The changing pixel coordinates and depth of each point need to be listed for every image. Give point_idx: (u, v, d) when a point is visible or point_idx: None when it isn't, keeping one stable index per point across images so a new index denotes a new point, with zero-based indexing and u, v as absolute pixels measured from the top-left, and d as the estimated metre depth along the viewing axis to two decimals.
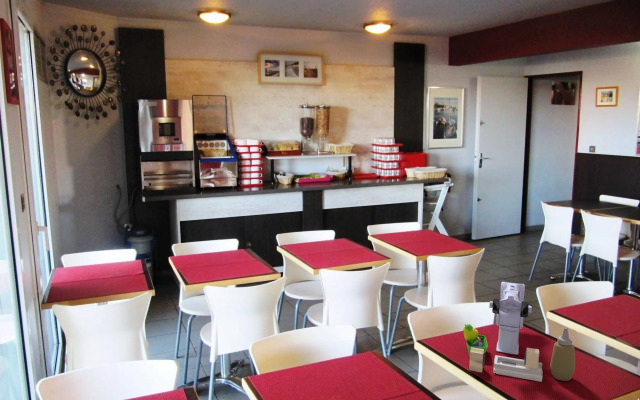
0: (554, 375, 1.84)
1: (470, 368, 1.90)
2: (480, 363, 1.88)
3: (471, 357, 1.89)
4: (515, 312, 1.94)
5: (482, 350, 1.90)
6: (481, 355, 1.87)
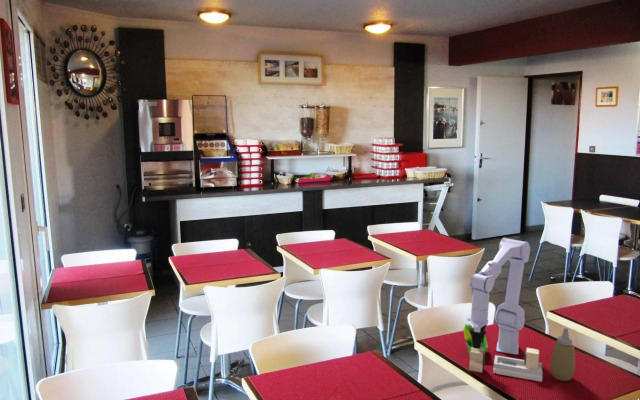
0: (554, 375, 1.84)
1: (470, 368, 1.90)
2: (480, 363, 1.88)
3: (471, 357, 1.89)
4: None
5: (482, 350, 1.90)
6: (481, 355, 1.87)
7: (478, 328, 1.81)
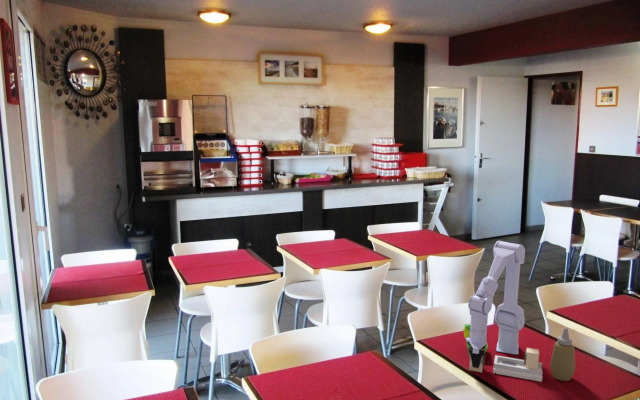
0: (554, 375, 1.84)
1: (470, 368, 1.90)
2: (480, 363, 1.88)
3: None
4: None
5: None
6: None
7: (477, 350, 1.83)
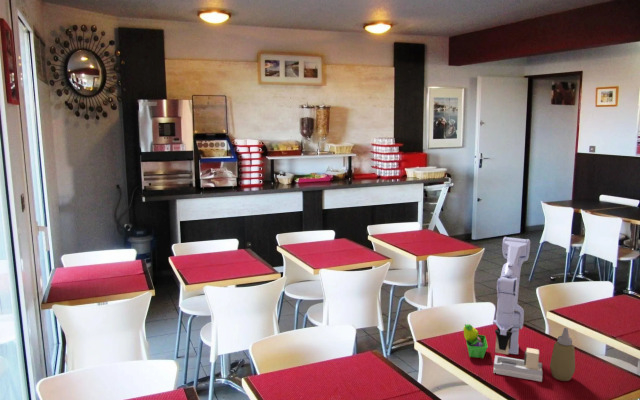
0: (554, 375, 1.84)
1: (496, 350, 1.88)
2: None
3: (497, 339, 1.88)
4: None
5: None
6: None
7: (504, 331, 1.81)
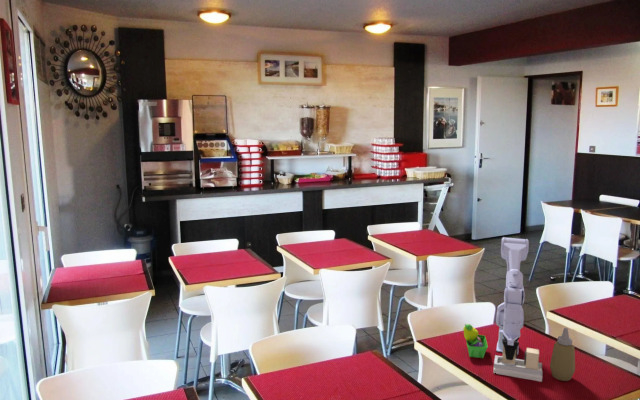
0: (554, 375, 1.84)
1: (503, 360, 1.89)
2: None
3: (504, 349, 1.88)
4: None
5: None
6: None
7: (511, 341, 1.82)
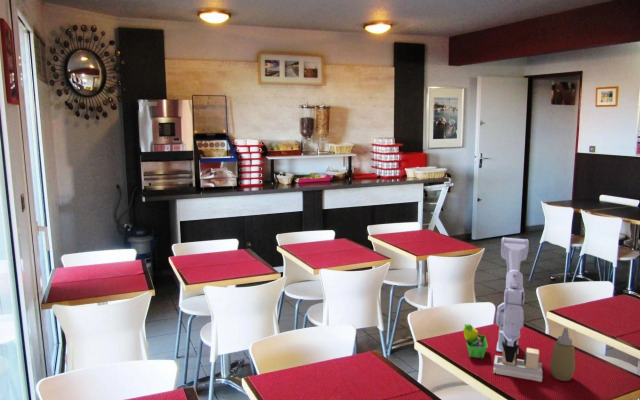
0: (554, 375, 1.84)
1: None
2: (513, 359, 1.88)
3: (504, 353, 1.88)
4: None
5: None
6: None
7: (511, 342, 1.82)
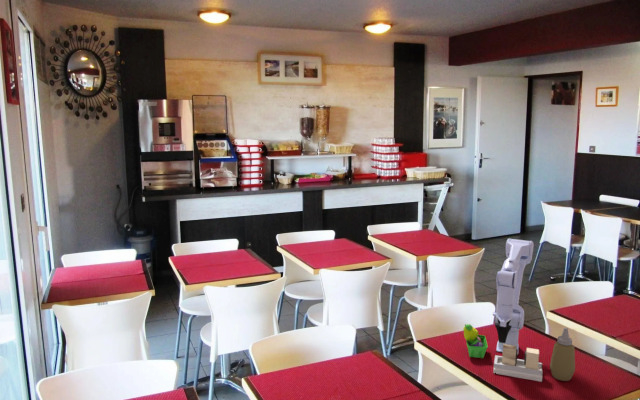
0: (554, 375, 1.84)
1: None
2: (513, 359, 1.88)
3: (504, 353, 1.88)
4: None
5: (515, 346, 1.90)
6: (514, 351, 1.87)
7: (504, 323, 1.87)
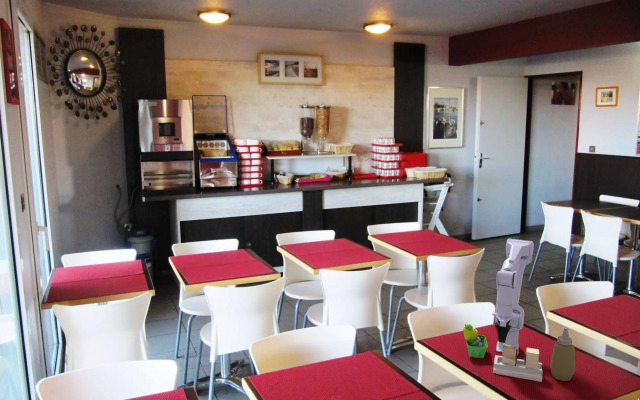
0: (554, 375, 1.84)
1: None
2: (513, 359, 1.88)
3: (504, 353, 1.88)
4: None
5: (515, 346, 1.90)
6: (514, 351, 1.87)
7: (504, 323, 1.87)
